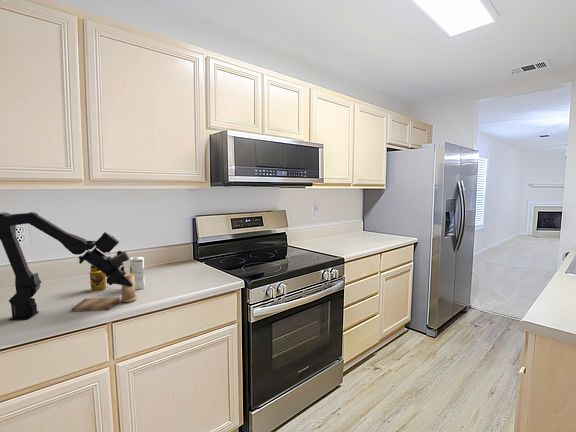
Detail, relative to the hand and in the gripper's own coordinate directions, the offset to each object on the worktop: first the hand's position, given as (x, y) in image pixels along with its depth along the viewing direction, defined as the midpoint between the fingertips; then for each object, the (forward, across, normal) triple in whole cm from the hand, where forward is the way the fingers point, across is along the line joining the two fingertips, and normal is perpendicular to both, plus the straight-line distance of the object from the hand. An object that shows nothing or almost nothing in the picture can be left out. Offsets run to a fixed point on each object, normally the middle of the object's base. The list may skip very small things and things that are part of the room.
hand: (131, 283), depth 134 cm
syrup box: (+7, +17, +3) cm, 18 cm away
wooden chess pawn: (+4, 0, +6) cm, 7 cm away
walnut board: (-4, 0, +14) cm, 15 cm away
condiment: (-5, +23, +15) cm, 28 cm away
